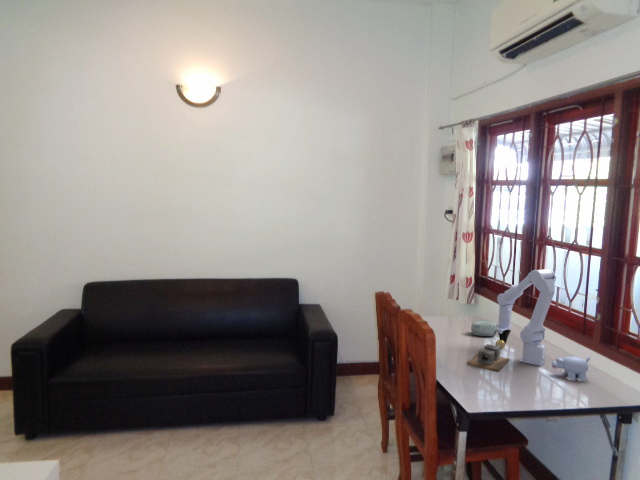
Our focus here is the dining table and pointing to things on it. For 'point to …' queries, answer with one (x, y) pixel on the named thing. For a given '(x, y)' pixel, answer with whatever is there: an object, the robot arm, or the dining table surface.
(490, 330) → the pale green pouf
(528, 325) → the robot arm
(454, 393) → the dining table surface
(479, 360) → the bearing frame
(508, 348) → the dining table surface
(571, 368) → the hippopotamus toy
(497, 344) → the shaft
